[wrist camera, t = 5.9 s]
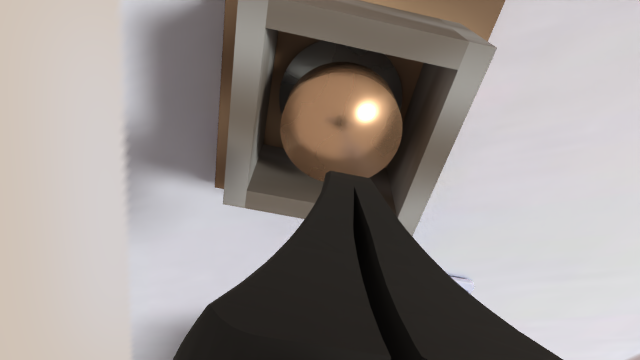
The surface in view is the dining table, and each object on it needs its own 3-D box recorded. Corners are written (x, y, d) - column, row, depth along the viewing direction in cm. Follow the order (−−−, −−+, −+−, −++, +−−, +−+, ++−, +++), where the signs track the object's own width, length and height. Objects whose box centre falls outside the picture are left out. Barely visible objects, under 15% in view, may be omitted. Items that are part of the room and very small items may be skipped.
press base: (405, 208, 24) (423, 279, 19) (221, 173, 23) (189, 238, 18) (505, -34, 17) (578, -23, 12) (239, -99, 16) (194, -118, 11)
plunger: (381, 162, 20) (389, 203, 17) (272, 141, 20) (260, 179, 17) (418, 51, 17) (437, 77, 14) (290, 23, 17) (278, 43, 13)
